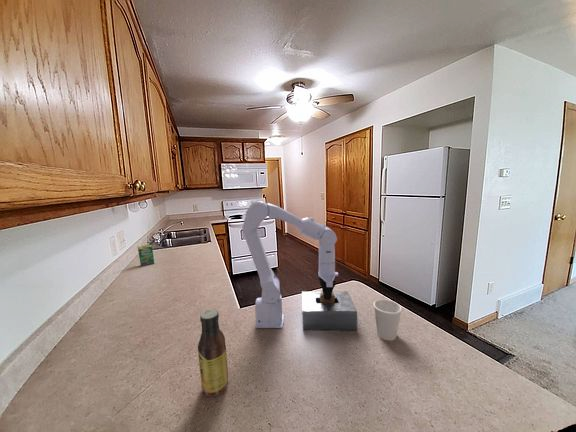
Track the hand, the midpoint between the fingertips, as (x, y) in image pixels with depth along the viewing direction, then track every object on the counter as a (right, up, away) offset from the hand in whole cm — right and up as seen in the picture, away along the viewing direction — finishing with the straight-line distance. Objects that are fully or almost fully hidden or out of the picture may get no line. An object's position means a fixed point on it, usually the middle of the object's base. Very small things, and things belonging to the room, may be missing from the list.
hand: (326, 297), depth 80 cm
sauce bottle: (-32, -13, -26) cm, 43 cm away
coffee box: (-108, -3, +67) cm, 127 cm away
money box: (0, -8, +1) cm, 8 cm away
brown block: (0, -4, 0) cm, 4 cm away
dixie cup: (+18, -9, -9) cm, 22 cm away
